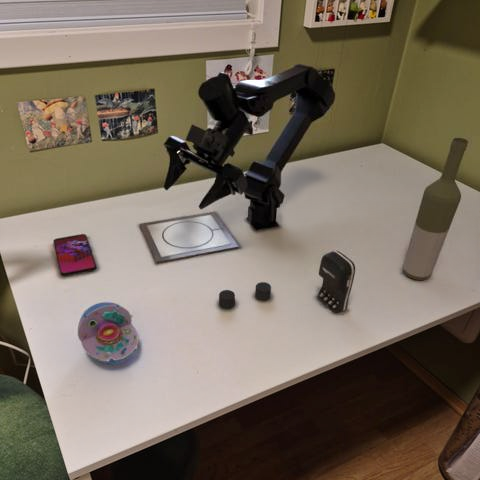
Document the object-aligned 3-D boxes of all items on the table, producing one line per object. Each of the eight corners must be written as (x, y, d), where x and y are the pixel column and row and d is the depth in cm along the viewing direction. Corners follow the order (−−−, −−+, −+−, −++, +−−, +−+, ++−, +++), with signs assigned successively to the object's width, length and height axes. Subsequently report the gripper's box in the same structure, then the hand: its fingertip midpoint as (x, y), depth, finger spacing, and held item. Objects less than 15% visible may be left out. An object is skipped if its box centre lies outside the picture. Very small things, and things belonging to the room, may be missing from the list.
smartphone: (60, 274, 100) (52, 238, 111) (61, 277, 101) (53, 242, 111) (96, 267, 103) (85, 233, 113) (97, 270, 103) (86, 236, 113)
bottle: (438, 276, 105) (489, 143, 85) (417, 286, 102) (464, 150, 82) (414, 261, 109) (457, 131, 89) (393, 270, 106) (432, 137, 86)
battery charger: (311, 297, 98) (319, 251, 90) (326, 292, 99) (334, 246, 92) (332, 316, 94) (342, 269, 86) (347, 310, 95) (358, 264, 87)
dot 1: (231, 298, 97) (231, 288, 96) (237, 307, 95) (237, 297, 93) (216, 301, 96) (216, 291, 95) (222, 310, 94) (222, 301, 92)
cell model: (98, 384, 79) (87, 343, 72) (76, 341, 86) (64, 301, 80) (152, 362, 83) (147, 322, 76) (127, 323, 90) (120, 284, 84)
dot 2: (266, 290, 99) (267, 280, 98) (272, 299, 97) (273, 289, 96) (252, 293, 99) (253, 283, 97) (258, 302, 96) (259, 292, 95)
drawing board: (214, 213, 124) (214, 210, 124) (238, 247, 112) (239, 245, 111) (139, 225, 118) (139, 223, 118) (156, 263, 106) (156, 261, 105)
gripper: (176, 93, 91) (130, 157, 90) (254, 128, 85) (206, 198, 84) (194, 129, 101) (154, 187, 100) (265, 163, 95) (222, 225, 94)
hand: (182, 198), depth 94 cm, fingers open, 9 cm apart
